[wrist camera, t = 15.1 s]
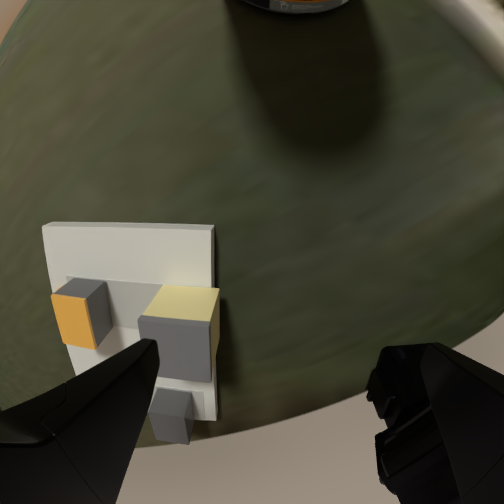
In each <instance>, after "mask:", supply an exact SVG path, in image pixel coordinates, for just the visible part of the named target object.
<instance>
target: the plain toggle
mask: <svg viewBox="0 0 504 504" xmlns="http://www.w3.org/2000/svg"><path fill="white" fill-rule="evenodd" d="M148 413H149V417H150V420H151V424H152V427H153V431H154V434H155V437H156V440H161V441H167V442H173V443H180V444H187V445H189V443H190V439H191V434H192V430H193V425H194V414H193V406H192V398H191V392H183V391H176V390H168V389H161V388H157V390H156V393H155V395H154V398H153V401H152V403H151V406H150V408H149V411H148Z"/></svg>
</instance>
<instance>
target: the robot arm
mask: <svg viewBox="0 0 504 504" xmlns="http://www.w3.org/2000/svg"><path fill="white" fill-rule="evenodd" d="M388 351H389V352H388ZM386 352H388V353H386ZM159 367H160V357H159V351H158V344H157V341H156V340H155V339H150V338H143V339H141V340H139V341H137V342H136V343H134V344H132V345H130V346H129V347H127V348H125V349H123V350H122V351H120V352H118V353H116V354H115V355H113V356H111V357H109V358H107V359H106V360H104V361H102V362H100V363H99V364H97V365H95V366H93V367H91V368H90V369H88V370H86V371H84V372H82V373H81V374H79V375H77V376H75V377H73V378H72V379H70V380H68V381H66V383H63V384H61V385H59V386H57V387H55V388H53V389H51V390H49V391H47V392H46V393H44V394H41V395H39V396H37V397H35V398H32V399H30V400H28V401H25V402H23V403H21V404H18V405H16V406H13V407H11V408H9V409H6V410H4V411H1V412H0V504H116V500H117V497H118V495H119V492H120V489H121V486H122V483H123V480H124V477H125V474H126V471H127V468H128V465H129V462H130V459H131V457H132V454H133V451H134V448H135V445H136V443H137V440H138V437H139V434H140V432H141V429H142V426H143V423H144V421H145V418H146V415H147V413H148V410H149V407H150V404H151V400H152V396H153V392H154V387H155V383H156V379H157V375H158V371H159ZM366 397H367V400H368V401H369V402H371V401H373V404H374V406H375V409H376V411H377V414H378V417H379V418H380V419H384V420H385V422H386V425H387V427H388V429H386V430H384V431H383V432H380V433H378V434H376V435H375V448H376V458H377V469H378V475H379V477H380V478H379V480H380V483H381V484H383V485H385V486H386V487H387V489H388V490H389V491H390V492H391V493H393V494H394V495H397V497H398V499H399V501H400V503H401V504H504V375H502V374H501V373H499V372H497V371H495V370H493V369H491V368H489V367H486V366H484V365H483V364H481V363H478V362H476V361H475V360H472V359H471V358H469V357H466V356H465V355H463V354H461V353H459V352H457V351H455V350H453V349H451V348H449V347H447V346H445V345H443V344H441V343H438V342H436V343H426V344H414V345H401V346H387V347H385V348H383V349H382V351H381V355H380V358H379V361H378V364H377V367H376V368H375V370H374V372H373V375H372V378H371V381H370V384H369V387H368V393H367V396H366Z"/></svg>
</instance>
